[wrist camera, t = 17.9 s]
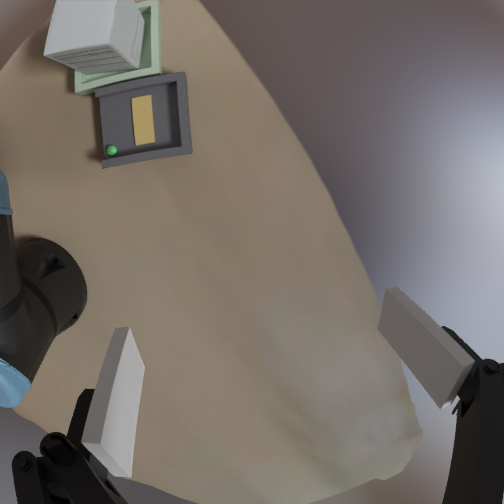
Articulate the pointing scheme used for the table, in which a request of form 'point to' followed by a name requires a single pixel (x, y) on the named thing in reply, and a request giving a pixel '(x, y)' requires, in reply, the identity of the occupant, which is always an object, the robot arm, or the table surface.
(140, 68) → the trough tray
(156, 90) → the dark gray open-sided tray
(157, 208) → the table surface
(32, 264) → the robot arm
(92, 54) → the supplement box
